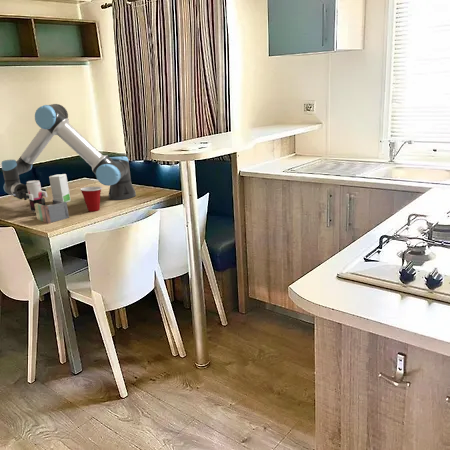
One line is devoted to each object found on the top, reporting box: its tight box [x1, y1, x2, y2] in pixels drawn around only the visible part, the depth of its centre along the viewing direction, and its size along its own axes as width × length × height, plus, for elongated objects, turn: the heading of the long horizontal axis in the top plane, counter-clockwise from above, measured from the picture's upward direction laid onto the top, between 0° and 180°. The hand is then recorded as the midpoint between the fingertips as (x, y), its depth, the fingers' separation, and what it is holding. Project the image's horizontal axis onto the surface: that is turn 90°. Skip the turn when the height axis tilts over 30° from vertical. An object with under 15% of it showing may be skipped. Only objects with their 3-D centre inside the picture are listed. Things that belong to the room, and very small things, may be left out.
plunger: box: [41, 197, 51, 206], centre depth 236 cm, size 10×6×10 cm, turn 45°
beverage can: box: [25, 179, 44, 212], centre depth 244 cm, size 6×7×15 cm
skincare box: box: [48, 173, 72, 203], centre depth 266 cm, size 8×7×16 cm
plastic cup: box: [80, 186, 103, 213], centre depth 245 cm, size 11×11×12 cm
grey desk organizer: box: [34, 198, 70, 224], centre depth 235 cm, size 12×11×8 cm
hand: (39, 196), depth 240 cm, fingers closed on beverage can, 6 cm apart
